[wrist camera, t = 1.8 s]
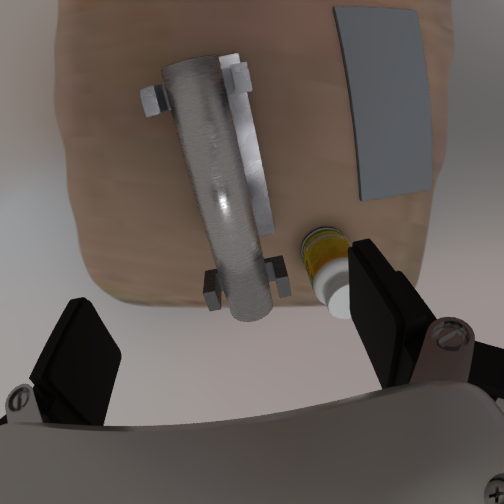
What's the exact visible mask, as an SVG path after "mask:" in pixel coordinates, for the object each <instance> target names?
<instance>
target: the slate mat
mask: <svg viewBox="0 0 504 504" xmlns="http://www.w3.org/2000/svg"><path fill="white" fill-rule="evenodd" d="M333 12H334V16H335V21H336V25H337V30H338V34H339V39H340V44H341V49H342V55H343V60H344V66H345V72H346V78H347V84H348V90H349V97H350V104H351V112H352V119H353V128H354V136H355V146H356V156H357V167H358V180H359V194H360V200H361V201H362V202H363V201H369V200H374V199H380V198H385V197H391V196H397V195H402V194H408V193H414V192H420V191H426V190H431V189H432V170H433V156H432V123H431V108H430V95H429V85H428V76H427V68H426V61H425V54H424V48H423V42H422V36H421V31H420V25H419V20H418V16H417V11H414V10H404V9H392V8H376V7H334V8H333Z"/></svg>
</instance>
